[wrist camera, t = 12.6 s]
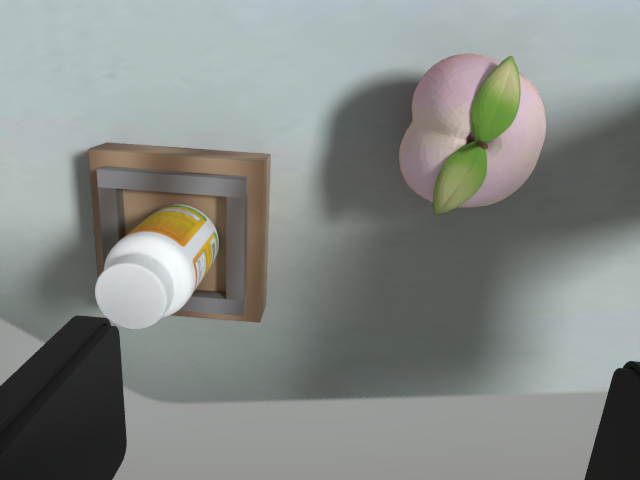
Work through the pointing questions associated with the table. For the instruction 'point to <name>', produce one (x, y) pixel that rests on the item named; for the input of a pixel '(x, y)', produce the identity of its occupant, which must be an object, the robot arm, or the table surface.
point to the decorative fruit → (472, 133)
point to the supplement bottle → (156, 266)
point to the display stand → (201, 193)
